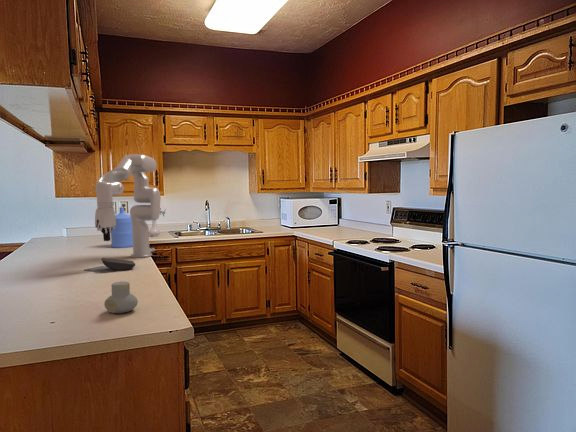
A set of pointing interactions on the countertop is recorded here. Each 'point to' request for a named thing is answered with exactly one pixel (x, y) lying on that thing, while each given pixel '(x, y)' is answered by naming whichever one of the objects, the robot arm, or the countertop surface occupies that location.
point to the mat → (100, 269)
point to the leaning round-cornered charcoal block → (118, 264)
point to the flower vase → (155, 227)
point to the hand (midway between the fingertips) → (107, 240)
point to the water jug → (122, 231)
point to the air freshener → (121, 298)
